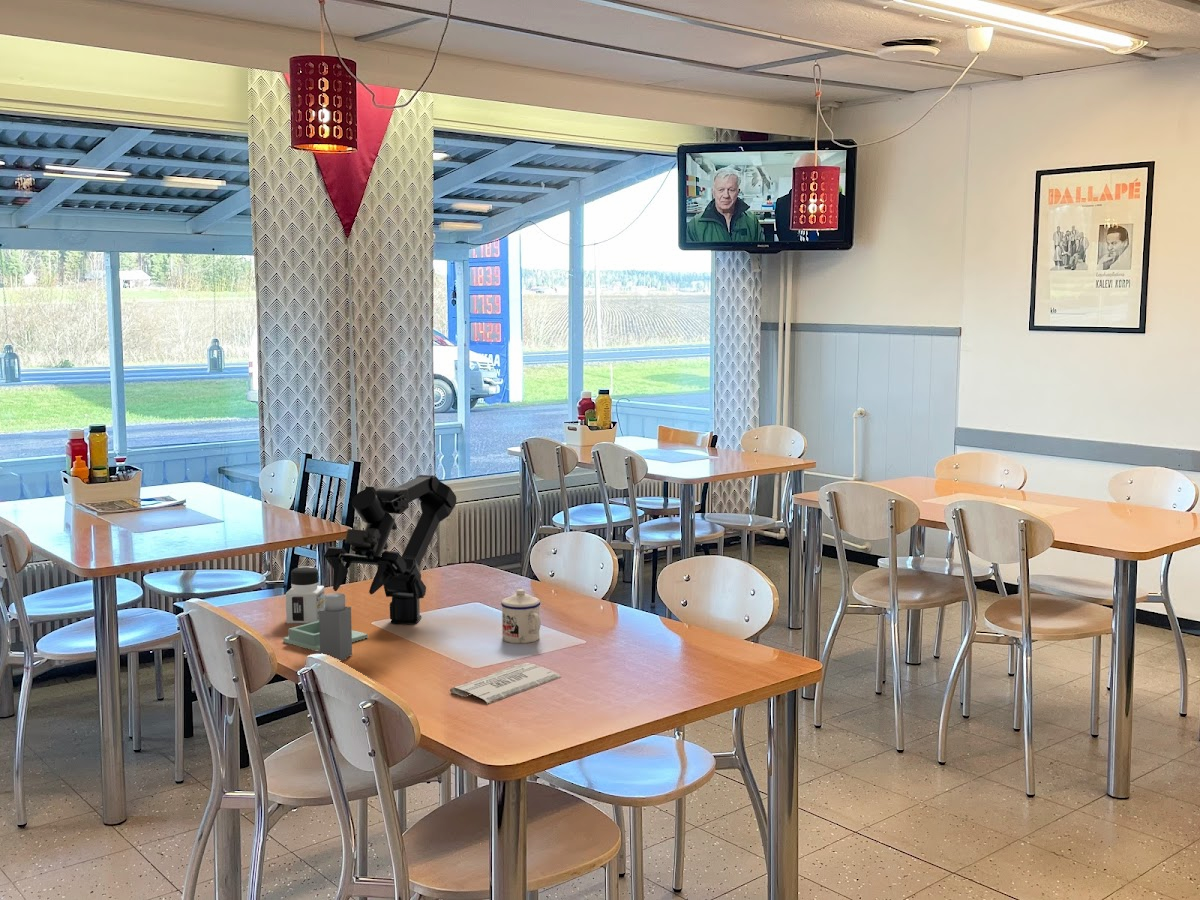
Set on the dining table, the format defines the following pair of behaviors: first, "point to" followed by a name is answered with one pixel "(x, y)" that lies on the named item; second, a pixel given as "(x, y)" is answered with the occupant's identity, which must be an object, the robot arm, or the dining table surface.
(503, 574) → the dining table surface
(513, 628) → the teacup with lid
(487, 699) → the newspaper
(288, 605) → the container
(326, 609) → the upright grey pillar
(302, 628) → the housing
